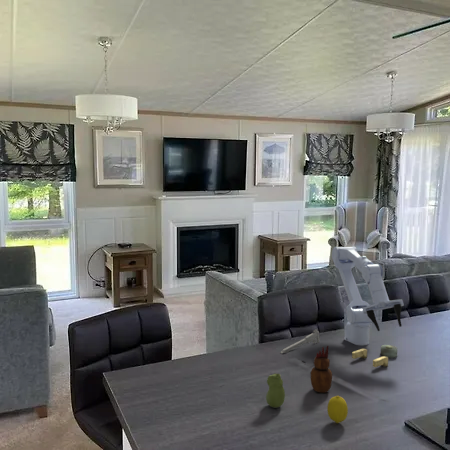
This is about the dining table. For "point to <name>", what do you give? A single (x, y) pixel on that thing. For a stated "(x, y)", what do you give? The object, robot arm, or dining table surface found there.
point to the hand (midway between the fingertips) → (389, 328)
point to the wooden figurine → (321, 372)
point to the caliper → (304, 341)
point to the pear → (275, 391)
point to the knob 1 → (360, 354)
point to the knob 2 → (381, 361)
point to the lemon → (337, 409)
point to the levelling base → (389, 351)
